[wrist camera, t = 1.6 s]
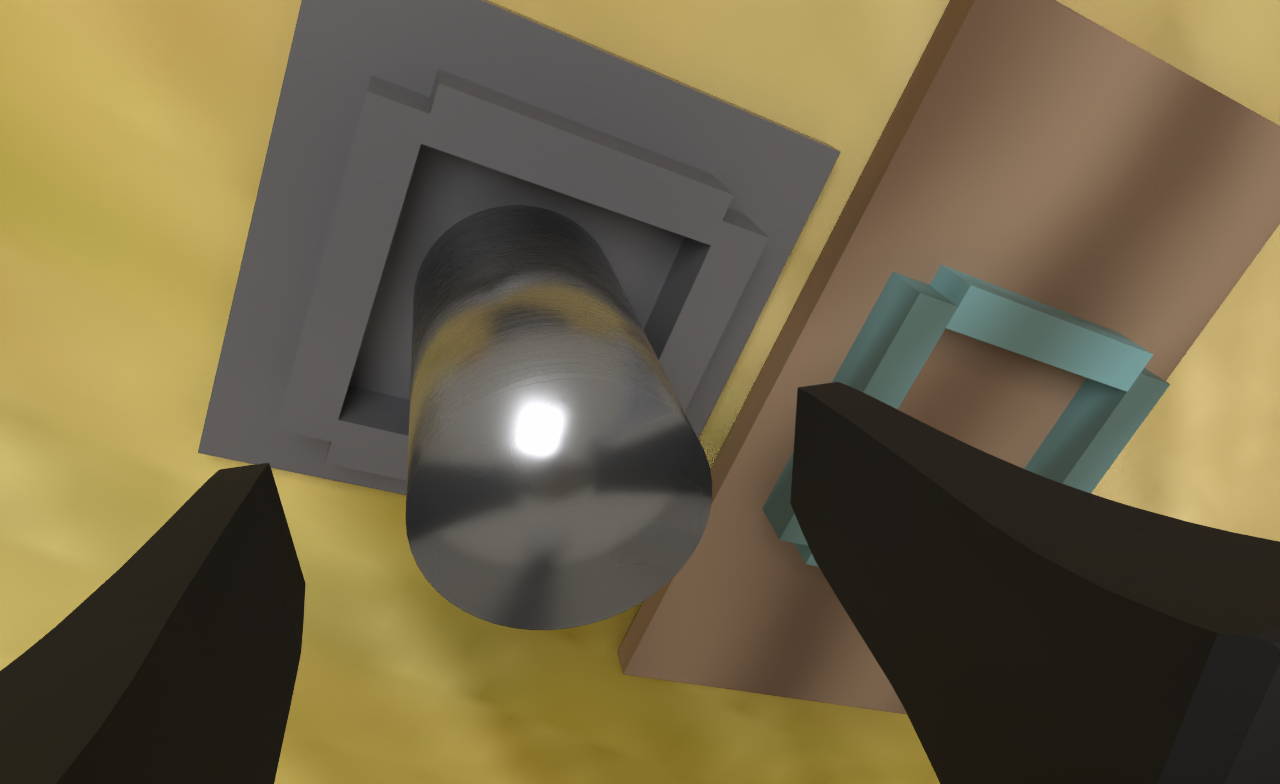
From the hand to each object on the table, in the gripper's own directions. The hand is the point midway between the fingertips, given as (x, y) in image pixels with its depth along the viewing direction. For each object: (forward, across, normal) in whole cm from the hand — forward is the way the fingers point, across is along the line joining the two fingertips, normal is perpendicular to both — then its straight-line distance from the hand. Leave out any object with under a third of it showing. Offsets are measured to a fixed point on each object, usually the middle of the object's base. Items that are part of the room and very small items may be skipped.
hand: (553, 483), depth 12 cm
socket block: (+7, 0, 0) cm, 7 cm away
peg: (+6, 0, 0) cm, 6 cm away
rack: (+7, -10, +5) cm, 13 cm away
